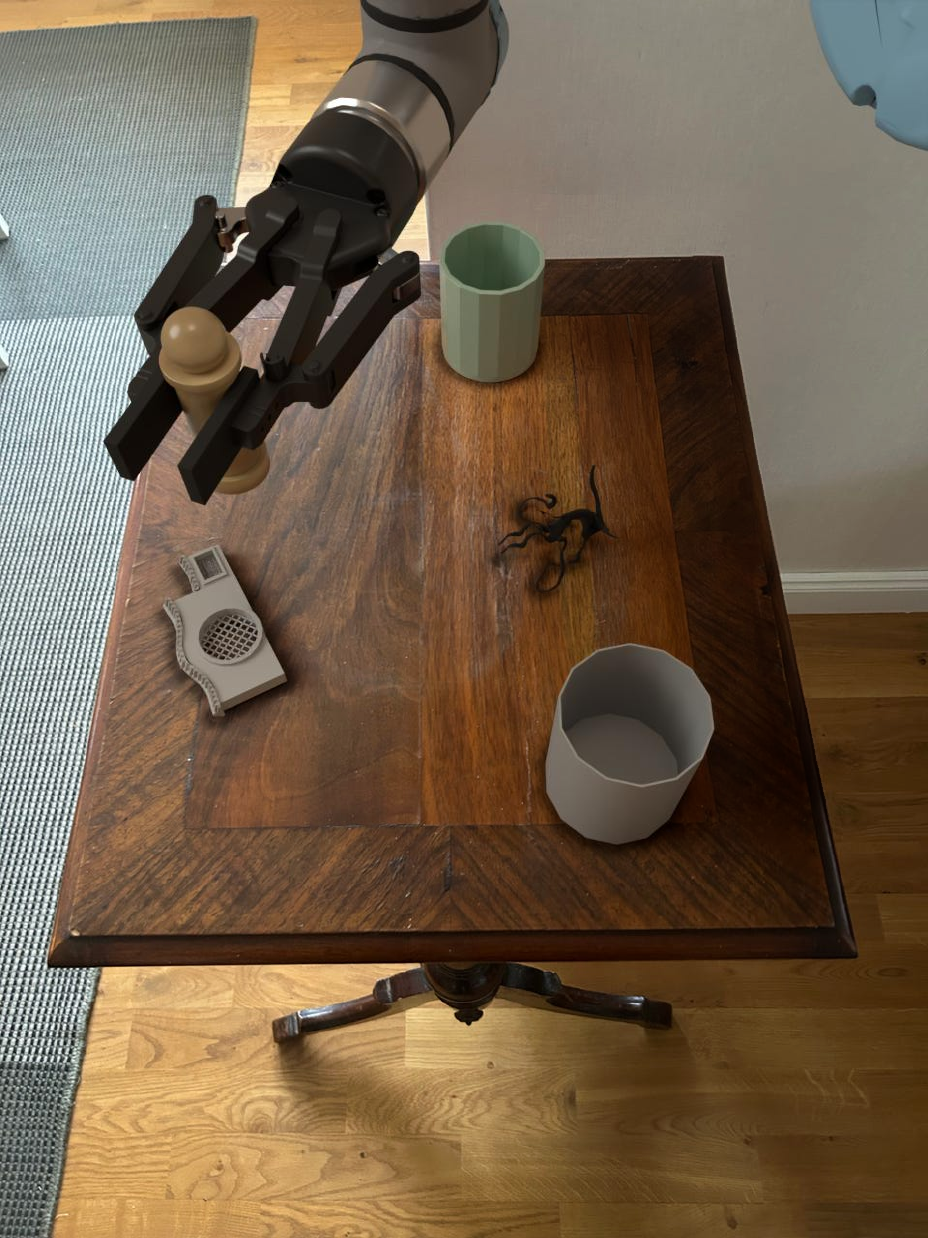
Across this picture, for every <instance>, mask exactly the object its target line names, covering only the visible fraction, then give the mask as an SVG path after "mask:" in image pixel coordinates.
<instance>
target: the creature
mask: <svg viewBox="0 0 928 1238" xmlns="http://www.w3.org/2000/svg"><path fill="white" fill-rule="evenodd" d="M596 466H597V464H593V465H592V466H591V468H590V472H589V487H590V491H591V493H592V494H593V498H594V504H595V511H594V510H593V511H592V510H591V509H589V508H577V509H573V510H571V511H568V512H565V513H563V514H561V515H558V516H555V515H553V514H551V513H549V512H546V511H543V510H541V509H539V508H536V510H537V511H539V512H540V513H541V514H542V515H543V517H544V518H545V521H546V523H545V525H544V524H542V523H539V522H536V521H531V520H530V519H529V518H526V517H523V516H522V515H521V514H520V512H521V507H522V506H523V505H524V504H525V503H526V502H528V501H531V500H536V501H539V502H542V503H543V504H544V506H545V507H546V509H548V510H551V509H553V508H554V507H556V505H557V503H558V500H557V496H556V495H555V494H553V493H546V494H544V496H545V497H546V498H548V499H550V500H551V501H550V502H549V501H548V500H546V499H545V498H543V497H539V496H534V497H533V496H532V497H529V498H526V499H524V501H522V503H520V506H519V507H518V509H517V512H516V513H517V517H519V518H520V519H521V520H524V521H526V522H527V523H525V524H523V526H522V528H521V529H520V530H519V531H513V532H508V533H507V534H506V535H505V536H504V537H503V538H502V539H501V540H500V541H499V542H498V544H497V546H498V547H499V546H501V545H502V544H504V542H505V541H506V540H507V539H508V538H510V537H517V538H518V537H522V536H523V535H524V534H525V532H526V530H528V529H529V528H530V527H531V526H532V525H533V526H534V527H535V528H536V529H537V530H538V531H539V532H538V531H537V532H536V531H535V532H534V531H533V532H531V533H528V534H527V535H525V537H524V538H523V540H522V542H514V543H511V544H509V545H508V546H506V547H505V548H503V549H502V550H501V551H500V552H499V554H500V555H503V554H504V553H505V552H506V551H507V550H508V549H510V548H517V549H518V548H519V549H524V548H527V545H528V542H529V540H530V539H531V538H533V536H536V535H540V536H542V537H543V539H544V541H545V542H546V543H548V544H554V543H556V542H557V543H563V544H562V547H561V548H560V549H559V563H560V564H558V565H557V564H555V563H554V562H552V561H551V560H550V559H549V558H548V559H547V562H546V564H545V568H544V570H543V571H542V573H541V574H540V576H539V577H538V579H537V580H536V581H535V585H534V587H535V589H536V590H537V591H539V592H541V593H550V592H553V591H554V590H556V589H557V588H558V587H559V586H560V585H561V583H562V580H563V578H564V576H565V573H566V566H568V564H577V563H578V562H579V561H580V560H581V554H582V552H583V551H584V548H585V546H586V545H587V542H588V541H589V539H590V538H591V536H593V535H595V534H598V533H599V532H602V533H604V535H606V536H608V537H611V538H613V539H619V537H618V536H615V535H614V534H612V533H611V532H610V528H609V527H608V526H607V524H606V522H605V520H604V517H603V513H602V506H601V501H600V495H599V491H598V489H597V485H596V482H595V469H596ZM545 514H547V515H549V516H551V517H553V518H554V519H553V520H551V521H549V522H548V520H547V519H546V518H547V517H546V515H545ZM555 519H557V520H555ZM575 520H578V521H580V524H581V528H582V529H581V535H580V536H581V537H582V539H583V542H582V544H581V546H580V548H578V551H577V552H576V556H575V558H574V559H572V560H569V561H568V562H566V563H565V559H564V553H565V551H566V549H567V546H568V536H565V535H563V533H564V531H565V529H566V527H568V526H570V524H571V523H572V521H575ZM536 524H537V525H536ZM538 525H539V526H538ZM544 533H546V534H548V535H546V534H544ZM549 565H554V566H557V567H560V572H559V575H558V578H557V581H556V583H555V585H554V586H551V587H550V588H549V589H547V590H544V589H543V590H541V589H539V588H538V582H539V581H540V580H541V579H542V578H543V576H544V574H545V573H546V570H547V568H548V567H549Z"/></svg>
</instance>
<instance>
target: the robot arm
mask: <svg viewBox="0 0 928 1238" xmlns="http://www.w3.org/2000/svg"><path fill="white" fill-rule="evenodd" d="M807 2H808V6H809V11H810V15H811V19H812V24H813V28H814V32H815V34H816V37H817V40H818V43H819V46H820V49H821V52H822V55H823V56H824V57H823V58H824V59H825V61H826V63H827V65H828V67H829V69H830V72H831V74H832V75H833V77H834V79H835V82H837V84H838V86H839V88H840V89H841V91H842V92H843V93H844V95H845V96H846V97H847V99H848V100H849V102H851V104H852V105H853V106H858V107H863V106H864V107H865V106H869V107H870V108H872V109H874V110H875V116H874V124H875V127H876V128H877V129H879V130H881V131H882V132H884V133H885V134H886V135H888V136H889V137H890V138H892V139H893V140H894V141H895V142H899V143H901V144H903V145H906V146H909V147H912V148H915V149H918V150H922V151H925V152H928V0H807ZM359 8H360V20H361V22H360V23H361V32H362V44H361V49H360V51H358V54H357V55H356V57H355V58H354V60H353V62H352V63H351V64H349V66H348V69H346V71H345V72H344V73H343V74H342V76H341V77H340V78H339V80H338V81H337V82H336V84H335V85H334V86H333V87H332V89H331V90H330V91H329V92H328V93H327V94H326V97H325V98H324V99H323V100H322V101H321V103H320V104H319V105H318V106H317V108H316V110H314V112H313V114H312V116H311V117H310V119H309V121H308V122H307V123H306V124H305V125H304V126H303V128H302V129H301V131H300V132H299V134H298V135H297V136H296V137H295V139H294V140H293V142H291V144H290V145H289V147H288V148H287V149H286V151H285V152H284V153H283V155H282V156H281V158H280V160H279V161H278V164H277V166H276V168H275V171H274V174H273V176H272V179H271V181H270V184H269V185H268V187H267V188H265V190H263V191H261V192H259V193H257V194H255V195H253V196H252V197H250V198H249V200H248V201H247V202H246V204H245V206H233V207H232V206H231V207H219V204H218V201H217V198H216V197H215V196H214V195H212V194H202V195H200V196H198V197H197V198H196V199H195V200H194V204H193V212H192V221H191V225H190V226H189V227H188V229H187V230H186V232H185V234H184V235H183V237H182V239H181V240H180V242H179V243H178V244H177V246H176V248H175V249H174V251H173V252H172V253H171V255H170V257H169V259H168V260H167V262H166V264H165V265H164V267H163V268H162V270H161V271H160V272H159V274H158V276H157V277H156V279H155V280H154V281H153V284H152V285H151V287H150V288H149V290H148V291H147V293H146V295H145V296H144V298H143V299H142V301H141V303H140V304H139V305H138V307H137V309H136V311H135V312H134V314H133V318H134V322H135V325H136V327H137V329H138V332H139V334H140V335H139V336H140V338H141V340H142V343H143V345H144V348H145V350H146V353H147V355H148V357H147V358H146V360H145V361H144V362H143V364H142V365H141V366H140V368H139V370H138V371H137V372H136V374H135V375H134V376H133V378H132V379H131V380H130V382H129V383H128V385H127V391H126V394H127V396H128V399H129V401H130V403H129V404H128V406H127V407H126V409H125V410H124V411H123V413H122V414H121V416H120V417H119V418H118V419H117V420H116V423H115V424H114V425H113V426H112V428H111V429H110V430H109V432H108V434H107V435H106V436H105V438H104V439H103V440H102V442H103V444H104V446H105V449H106V451H107V452H108V455H109V456H110V459H111V461H112V463H113V465H114V467H115V469H116V471H117V473H118V475H119V477H120V478H122V479H124V480H128V481H131V482H133V483H134V482H135V481H136V479H137V478H138V477H139V475H140V474H141V472H142V471H143V469H144V468H145V467H146V465H147V463H148V462H149V461H150V459H151V458H152V457H153V455H154V454H155V452H156V451H157V449H158V447H159V446H160V445H161V443H162V442H163V441H164V439H165V438H166V436H167V435H168V433H169V431H170V430H171V429H172V427H173V426H174V424H175V423H176V422H177V420H178V418H179V417H180V416H181V414H182V413H183V409H182V407H181V404H180V401H179V398H178V396H177V393H176V390H175V388H174V387H173V386H171V385H170V384H169V383H168V382H167V381H166V380H165V378H164V376H163V374H162V371H161V368H160V365H159V355H160V351H161V349H162V344H161V332H162V328H163V325H164V323H165V321H166V320H167V318H168V317H169V316H170V315H171V314H172V313H174V312H175V311H177V310H179V309H181V308H185V307H200V308H203V309H206V310H208V311H210V312H211V313H213V314H214V315H215V316H217V317H218V319H219V320H220V321H221V322H222V324H223V326H224V327H225V330H226V331H227V332H229V333H230V334H232V332H233V331H234V330H235V328H237V327H238V325H239V324H240V323H241V322H242V321H243V320H244V319H246V317H247V316H248V315H249V314H250V313H252V311H253V310H254V309H255V308H256V307H257V306H258V305H259V304H260V302H262V301H263V300H264V301H266V302H269V301H270V300H272V299H273V298H274V297H275V296H276V295H277V294H278V292H280V290H282V288H284V287H292V288H293V287H294V289H293V292H292V294H291V295H290V298H289V300H288V304H287V306H286V308H285V310H284V313H283V315H282V317H281V320H280V322H279V325H278V327H277V330H276V331H275V334H274V337H273V339H272V342H271V343H270V346H269V349H268V351H267V352H266V353H265V357H264V353H263V352H259V359H260V362H261V367H262V372H263V373H262V374H261V375H260V373H259V370H258V369H257V368H253V367H250V366H247V365H243V366H241V368H240V370H239V371H240V372H239V373H238V375H237V377H236V379H235V381H234V382H233V383H232V385H231V386H230V387H229V388H228V390H227V391H226V393H225V394H224V396H223V397H222V399H221V400H220V402H219V403H218V405H217V406H216V408H215V409H214V411H213V412H212V414H211V415H210V417H209V418H208V420H207V421H206V423H205V424H204V426H203V427H202V429H201V430H200V432H199V433H198V435H197V436H196V438H195V439H193V441H192V442H191V444H190V446H189V447H188V448H187V450H186V451H185V453H184V454H183V456H182V457H181V458H180V460H179V462H178V463H177V465H176V466H177V469H178V472H179V474H180V476H181V480H182V482H183V485H184V486H185V489H186V492H187V495H188V497H189V499H190V501H191V502H193V503H195V504H199V505H202V506H206V505H207V504H208V502H209V500H210V499H211V497H212V495H213V494H214V492H216V491H215V489H216V488H217V486H218V484H219V483H220V481H221V480H222V478H223V477H224V475H225V473H226V472H227V470H228V469H229V467H230V466H231V464H232V462H233V461H234V459H235V458H236V456H237V455H238V453H239V451H240V450H241V448H242V447H243V448H247V449H250V450H253V451H254V450H255V449H256V448H258V447H259V446H260V445H262V443H263V442H264V441H266V438H267V437H268V435H269V433H270V432H271V430H272V429H273V427H274V425H275V424H276V423H277V420H278V419H279V418H280V416H281V415H282V413H283V411H284V410H285V408H289V407H290V406H292V405H294V403H308V404H309V405H310V407H311V408H313V409H316V410H323V409H324V410H325V409H326V408H328V407H329V406H330V405H331V404H332V403H333V402H334V400H335V399H336V398H337V396H338V395H339V394H340V392H341V391H342V389H343V388H344V387H345V385H347V382H348V381H349V380H350V379H351V377H352V375H354V373H355V372H356V370H357V368H358V367H359V366H360V364H361V363H362V362H363V360H364V359H365V357H366V356H367V355H368V353H369V352H370V350H371V349H372V348H373V346H374V345H375V344H376V342H377V341H378V339H379V338H380V337H381V335H382V334H383V333H384V331H385V330H386V329H387V327H388V326H389V324H390V323H391V322H392V320H393V319H394V318H395V316H397V315H398V314H399V313H400V312H402V311H404V310H405V309H407V308H408V307H410V306H411V305H412V304H414V303H415V302H417V301H418V300H419V299H420V298H421V296H422V280H421V261H420V260H421V259H420V255H419V254H418V253H417V252H416V251H413V250H409V249H408V250H403V251H401V252H397V251H396V250H394V249H393V247H394V246H395V244H396V242H397V241H398V239H399V237H400V236H401V234H402V233H403V231H404V229H405V228H406V226H407V224H409V222H410V220H411V218H412V217H413V215H414V213H415V211H416V208H417V206H418V205H419V204H420V202H421V201H422V200H423V198H424V197H425V195H426V193H427V191H428V190H429V188H430V187H431V186H432V183H433V182H434V180H435V178H436V177H437V175H438V174H439V172H440V171H441V169H442V167H443V166H444V163H445V162H446V160H447V159H448V158H449V155H450V154H451V152H452V151H453V148H454V146H455V145H456V144H457V142H458V140H459V139H460V138H461V136H462V135H463V133H464V131H465V130H466V128H467V127H468V125H469V124H470V122H471V121H472V119H473V118H474V116H475V115H476V113H477V112H478V110H479V109H480V108H481V107H482V106H484V104H485V103H486V101H487V99H488V98H489V96H490V95H491V93H492V88H493V87H494V86H495V85H496V84H497V81H498V78H499V74H500V71H501V70H502V68H503V66H504V63H505V61H506V58H507V54H508V51H509V45H510V28H509V27H510V26H509V22H508V19H507V17H506V14H505V12H504V9H503V6H502V5H501V2H500V0H359ZM246 233H247V234H246ZM244 234H246V235H245V236H244V237H243V238H242V239H241V240H240V242H239V243H238V245H237V249H236V254H235V255H234V256H233V258H231V260H230V261H229V262H228V263H227V264H226V265H225V266H224V267H222V268H221V266H222V264H223V262H224V259H225V254H231V253H232V252H234V249H235V248H234V244H235V243H236V242H237V239H238V238H239V237H240V236H241V235H244ZM220 268H221V270H220ZM365 278H366V279H365ZM363 279H365V280H364V282H363V283H362V284H361V285H360V287H359V289H358V290H357V291H356V292H355V294H354V295H353V296H352V297H351V299H350V300H349V302H348V303H347V304H346V305H345V307H344V308H343V309H342V311H341V312H340V314H339V315H338V316H337V317H336V319H335V320H334V321H333V323H332V324H331V325H330V327H329V328H328V330H327V331H326V332H325V333H324V335H323V336H322V337H321V338H320V336H321V334H322V331H323V329H324V327H325V324H326V320H327V319H328V317H329V318H331V317H332V315H333V313H334V310H335V308H336V305H337V303H338V300H339V298H340V295H341V292H342V290H343V288H345V287H347V286H350V285H352V284H354V283H356V282H358V281H361V280H363Z"/></svg>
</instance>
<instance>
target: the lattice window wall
mask: <svg viewBox="0 0 928 1238" xmlns="http://www.w3.org/2000/svg"><path fill="white" fill-rule="evenodd" d="M178 564H179V566H180V567H181V569H182V570H183V571H184V573H185V574H186V575H187V578H188V579H189V584H190V587H191V591H192V592H191V593H189V594H185V595H184V596H181V597H179V598H176V599H175V600H172V598H171V597H170V596H168V597H165V598H164V603H163V604H162V608H163V609H164V611H165V612H166V614H167V616H168V617H169V619H170V620H171V622H172V624H173V626H174V628H175V633H176V635H175V637H176V640H175V654H176V661H177V663H178V664H179V668H180V669H181V670H182V671H183V672H184V673H185V674H187V675H188V676H189V677H190V678H191V679H192V680H194V681H195V682H196V683H197V684H198V685H200V687H201V688H202V690H203V692H204V693H205V694H206V697H207V701H208V703H209V707H210V710H211V713H212V716H213V717H214V718H216V717H226V713H225V711H226V710H228V709H230V708H233V707H235V706H237V705H240V704H242V703H243V702H246V701H247V700H249V699H252V698H254V697H255V696H259V695H261V694H263V693H265V692H266V691H269V690H271V689H273V688H275V687H278V686H279V685H281V684H284V683H286V682H287V681H288V680H287V676H286V673H285V671H284V669H283V668H282V666H281V664H280V662H279V660H278V657H277V656H276V654H275V652H274V649H273V648H272V645H271V644H270V643H269V640H268V638H267V637H266V633H265V630H264V627H263V625H262V622H261V619H260V618H259V616H258V615H257V614H256V613H255V612H254V611H253V609H252V607H251V605H250V603H249V601H248V599H247V597H246V595H245V593H244V591H243V589H242V587H241V585H240V583H239V581H238V580H237V577H236V575H235V574H234V572H233V570H232V568H231V566H230V564H229V562H228V561H227V558H226V556H225V554H224V552H223V550H222V548H221V546H220V545H219V543H218V544H215V545H212V546H209V547H206V548H205V549H202V550H199V551H198V552H195V553H192V554H191V555H189V556H186V555H185V554H182V555H179V558H178ZM231 622H234V623H233V624H231ZM223 624H224V626H223V627H221V626H222V625H223ZM237 624H240V625H239V627H238V626H236V625H237ZM243 626H245V627H246V628H245V629H243V628H242V627H243ZM227 627H230V629H229V630H228V629H227ZM250 628H251V629H253V631H252V632H251V631H250V632H249V629H250ZM218 629H219V630H220V632H217V631H216V630H218ZM233 629H236V631H235V632H233ZM223 632H226V634H225V635H224V634H223ZM239 632H242V634H241V635H240V634H238V633H239ZM256 632H257V634H255V633H256ZM214 634H215V635H216V637H213V635H214ZM246 634H247V635H249V636H248V638H247V637H246V636H245V635H246ZM229 635H232V636H231V637H228V636H229ZM244 636H245V637H244ZM219 637H222V639H219ZM235 637H237V638H238V639H237V640H236V639H235ZM253 637H255V638H256V640H255V641H254V640H252V638H253ZM210 639H211V640H213V641H209V640H210ZM226 640H228V642H225V641H226ZM241 640H244V643H242V642H241ZM216 642H218V644H217V643H216ZM232 642H233V643H235V644H234V645H233V644H231V643H232ZM207 643H208V644H210V645H209V646H206V644H207ZM248 643H252V645H251V646H249V645H247V644H248ZM222 645H225V646H222ZM238 645H240V646H241V648H240V647H237V646H238ZM213 646H215V649H213V648H212V647H213ZM228 647H230V648H231V649H228ZM244 648H247V649H248V651H246V650H244ZM219 649H222V650H221V651H220V652H219V651H218V650H219ZM234 650H237V652H235V651H234ZM209 651H210V652H212V653H211V654H210V653H209ZM224 652H228V653H227V654H225V653H224ZM241 653H244V654H241ZM215 654H217V656H214V655H215ZM230 655H235V656H234V657H232V656H230ZM221 657H224V658H223V659H222V658H221Z"/></svg>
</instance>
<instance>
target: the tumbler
mask: <svg viewBox="0 0 928 1238" xmlns="http://www.w3.org/2000/svg"><path fill="white" fill-rule="evenodd" d="M438 263H439V264H438V265H439V266H438V269H439V296H440V299H439V300H440V326H441V328H440V334H441V335H440V336H441V347H442V348H441V349H442V353H443V356H444V359H445V361H446V363H447V364H448V365H449V367H450V368H451V369H453V371H455V372H456V373H457V374H459V375H460V376H462V377H465V378H466V379H469V380H472V381H475V382H481V383H501V382H505V381H509V380H511V379H515V378H516V377H518V376H521V375H522V374H523V373H525V372H526V371H527V370H528V369H529V368H530V367H531V366H532V364H533V363H534V361H535V359H536V357H537V354H538V350H539V338H540V329H541V328H540V326H541V318H542V317H541V316H542V303H543V293H544V292H543V291H544V280H545V268H546V251H545V249H544V247H543V245H542V244H541V242H540V240H539V239H538V237H537V236H535V235H534V234H533V233H531V232H530V231H528V230H527V229H526V228H524V227H522V226H519V225H516V224H513V223H510V222H508V221H500V220H499V221H498V220H497V221H496V220H483V221H478V222H475V223H470V224H467V225H463V226H462V227H460V228H458V229H457V230H456V231H453V232H452V233H451V234H450V235H448V237H447V238H446V239H445V241H444V242H443V244H442V245H441V247H440V251H439V261H438Z"/></svg>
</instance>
